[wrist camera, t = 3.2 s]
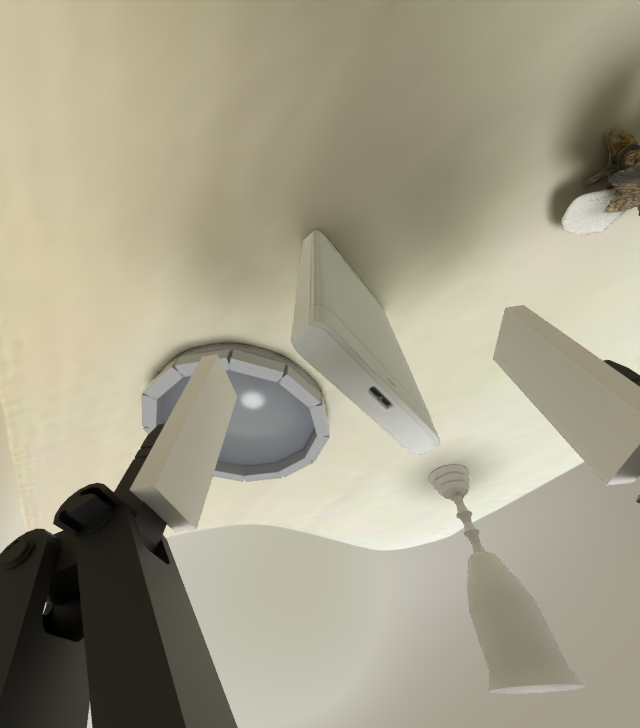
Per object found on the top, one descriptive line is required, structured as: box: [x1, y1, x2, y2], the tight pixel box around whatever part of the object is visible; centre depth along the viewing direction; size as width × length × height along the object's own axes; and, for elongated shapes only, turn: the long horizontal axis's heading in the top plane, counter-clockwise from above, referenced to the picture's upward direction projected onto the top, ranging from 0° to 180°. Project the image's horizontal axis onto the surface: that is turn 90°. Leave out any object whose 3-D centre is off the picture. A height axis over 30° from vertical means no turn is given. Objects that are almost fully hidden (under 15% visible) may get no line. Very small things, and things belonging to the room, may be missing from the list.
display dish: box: [142, 343, 330, 482], centre depth 28 cm, size 17×17×2 cm
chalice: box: [428, 465, 585, 693], centre depth 29 cm, size 7×7×18 cm
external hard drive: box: [291, 230, 440, 455], centre depth 15 cm, size 2×8×12 cm, turn 41°
